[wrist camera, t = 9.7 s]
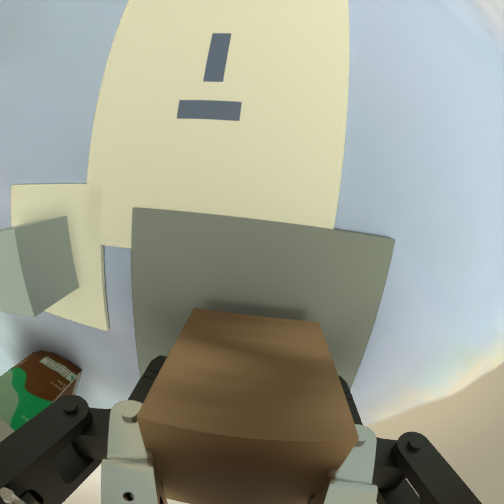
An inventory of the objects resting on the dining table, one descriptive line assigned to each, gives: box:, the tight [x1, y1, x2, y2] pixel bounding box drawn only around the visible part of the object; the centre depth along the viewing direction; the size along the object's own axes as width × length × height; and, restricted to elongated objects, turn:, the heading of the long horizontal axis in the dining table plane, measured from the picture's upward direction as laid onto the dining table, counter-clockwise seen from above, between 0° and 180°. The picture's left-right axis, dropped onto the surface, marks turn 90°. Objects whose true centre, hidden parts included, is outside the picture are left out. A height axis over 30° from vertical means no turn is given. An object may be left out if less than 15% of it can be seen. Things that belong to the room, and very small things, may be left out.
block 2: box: [136, 308, 359, 504], centre depth 8 cm, size 5×5×6 cm
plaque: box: [11, 184, 110, 331], centre depth 13 cm, size 8×8×1 cm
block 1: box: [0, 216, 79, 317], centre depth 11 cm, size 4×4×4 cm
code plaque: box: [85, 0, 349, 249], centre depth 10 cm, size 12×16×1 cm
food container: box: [0, 350, 82, 442], centre depth 11 cm, size 12×6×10 cm, turn 146°
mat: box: [131, 207, 395, 389], centre depth 13 cm, size 12×12×1 cm
